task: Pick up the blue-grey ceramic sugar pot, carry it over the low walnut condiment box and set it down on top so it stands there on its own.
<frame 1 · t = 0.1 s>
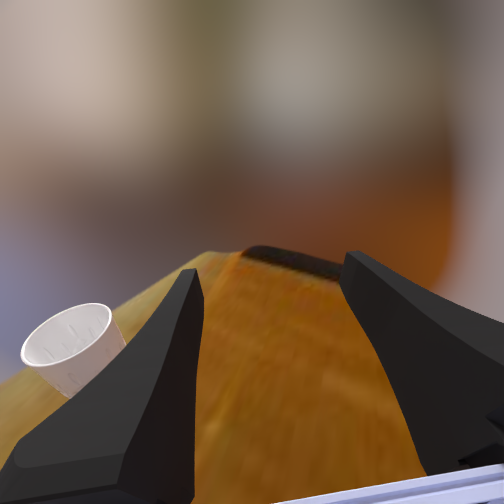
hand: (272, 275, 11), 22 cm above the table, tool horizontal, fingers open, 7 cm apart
white cup: (107, 382, 29), on the table
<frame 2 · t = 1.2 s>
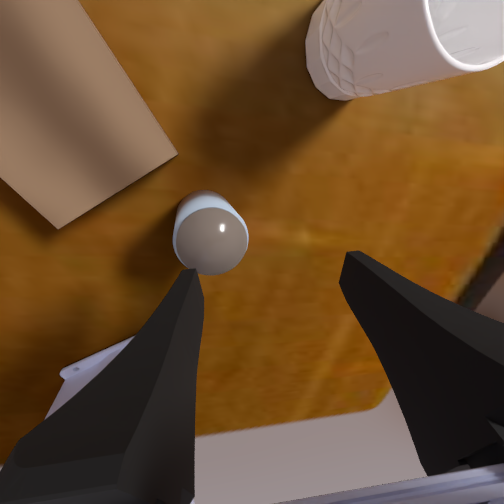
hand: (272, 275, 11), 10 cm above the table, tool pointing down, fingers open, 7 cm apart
white cup: (342, 50, 17), on the table
walnut box: (79, 125, 15), on the table
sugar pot: (205, 218, 19), on the table
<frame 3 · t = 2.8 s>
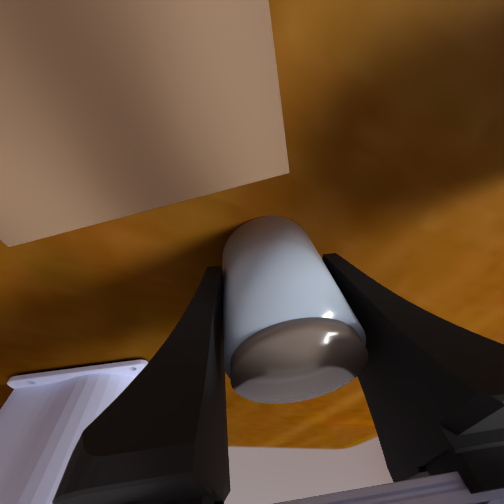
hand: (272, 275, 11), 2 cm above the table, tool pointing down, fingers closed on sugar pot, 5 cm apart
walnut box: (95, 29, 7), on the table
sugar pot: (267, 255, 12), on the table, touching gripper
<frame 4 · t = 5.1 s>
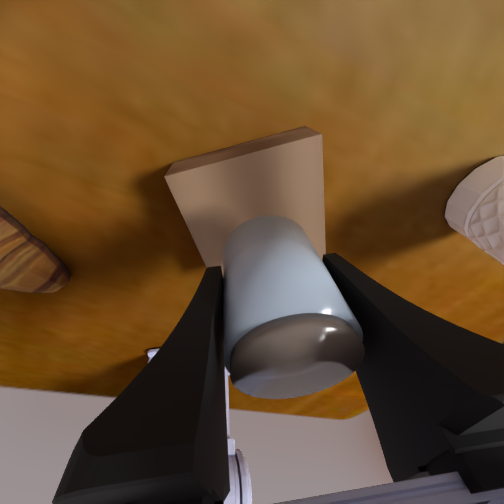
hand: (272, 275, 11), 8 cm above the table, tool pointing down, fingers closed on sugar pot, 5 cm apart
white cup: (481, 193, 19), on the table
walnut box: (253, 205, 17), on the table
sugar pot: (266, 254, 12), point 6 cm above the table, touching gripper
when the fingers open (5 cm above the table, at t = 6.1 s): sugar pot stays where it is, point 3 cm above the table.
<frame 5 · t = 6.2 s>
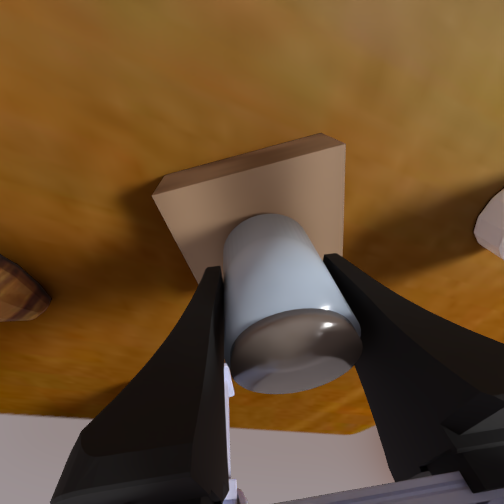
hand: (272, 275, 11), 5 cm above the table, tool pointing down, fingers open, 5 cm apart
walnut box: (258, 223, 15), on the table
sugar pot: (266, 252, 12), point 3 cm above the table
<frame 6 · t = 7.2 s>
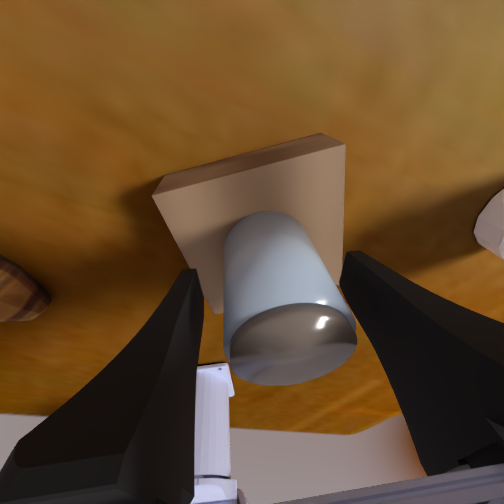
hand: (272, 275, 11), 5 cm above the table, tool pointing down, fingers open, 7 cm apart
walnut box: (258, 223, 15), on the table
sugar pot: (265, 249, 13), point 3 cm above the table, touching walnut box
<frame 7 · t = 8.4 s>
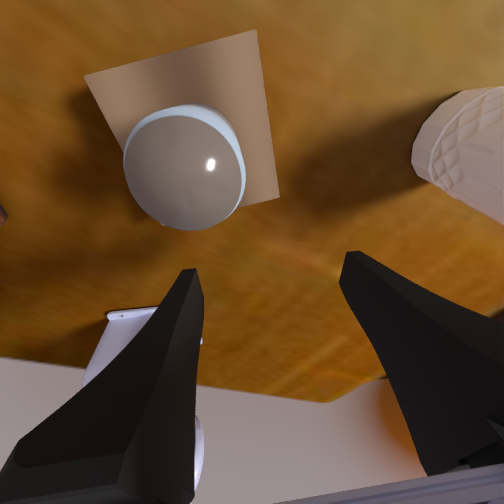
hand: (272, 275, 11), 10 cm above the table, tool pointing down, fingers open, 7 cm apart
white cup: (449, 138, 18), on the table
walnut box: (202, 138, 16), on the table
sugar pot: (200, 148, 14), point 3 cm above the table, touching walnut box
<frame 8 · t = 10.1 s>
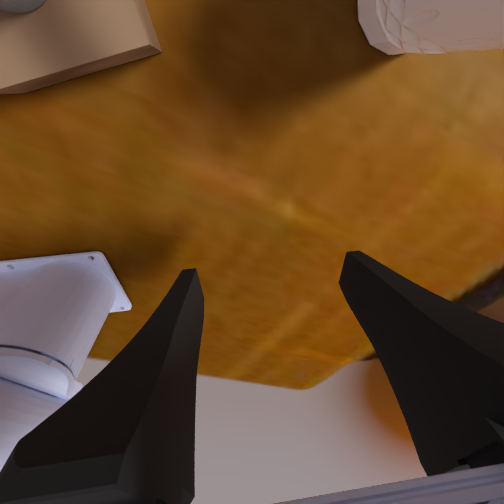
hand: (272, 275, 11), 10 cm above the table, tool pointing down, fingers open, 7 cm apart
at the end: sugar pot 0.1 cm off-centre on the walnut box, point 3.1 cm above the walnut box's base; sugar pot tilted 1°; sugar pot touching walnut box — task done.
